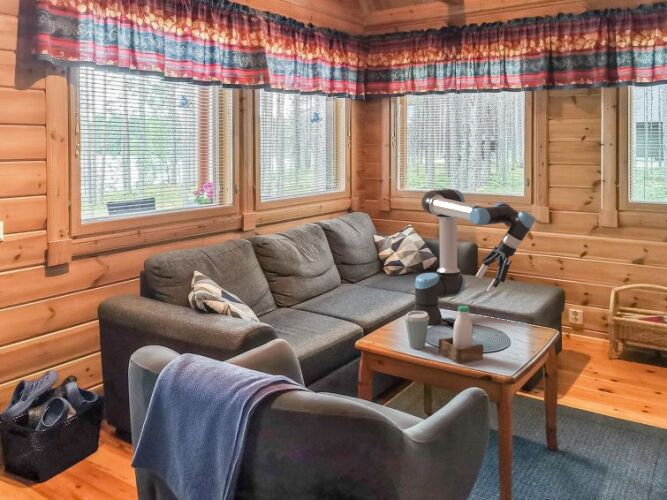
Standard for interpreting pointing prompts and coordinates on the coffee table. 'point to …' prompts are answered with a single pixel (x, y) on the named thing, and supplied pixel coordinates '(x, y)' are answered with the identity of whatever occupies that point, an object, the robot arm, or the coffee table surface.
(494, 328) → the coffee table surface
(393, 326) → the coffee table surface
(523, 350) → the coffee table surface
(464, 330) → the milk bottle
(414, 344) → the disposable coffee cup
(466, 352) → the wooden open tray
